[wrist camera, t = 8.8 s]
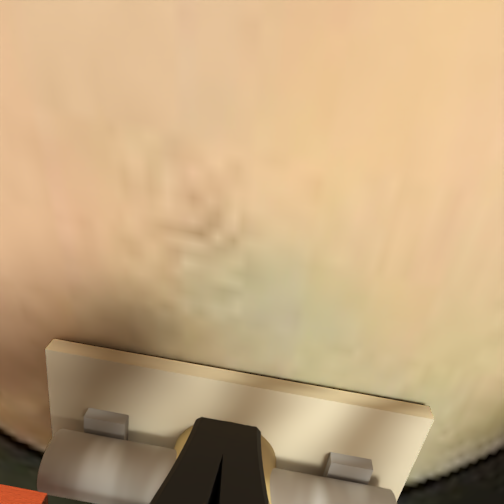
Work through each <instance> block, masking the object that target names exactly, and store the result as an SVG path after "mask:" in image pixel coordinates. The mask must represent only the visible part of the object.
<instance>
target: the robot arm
mask: <svg viewBox="0 0 504 504" xmlns="http://www.w3.org/2000/svg"><path fill="white" fill-rule="evenodd" d="M149 504H269V500H268V495H267V489H266V483H265V476H264V469H263V461H262V451H261V431H260V430H259V429H258V428H257V427H255V426H249V425H244V424H238V423H233V422H227V421H222V420H216V419H211V418H205V417H200V418H198V419H196V420H195V423H194V425H193V428H192V430H191V432H190V435H189V437H188V439H187V441H186V443H185V445H184V447H183V449H182V450H181V452H180V454H179V456H178V458H177V460H176V461H175V463H174V465H173V466H172V468H171V470H170V472H169V473H168V475H167V477H166V478H165V480H164V481H163V483H162V484H161V486H160V488H159V489H158V491H157V492H156V494H155V495H154V497H153V499H152V500H151V502H150V503H149Z"/></svg>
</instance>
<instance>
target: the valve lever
mask: <svg viewBox="0 0 504 504" xmlns="http://www.w3.org/2000/svg"><path fill="white" fill-rule="evenodd" d="M0 504H48V496H47V493H43V492H38V491H33V490H27V489H22V488H17V487H12V486H7V485H1V484H0Z"/></svg>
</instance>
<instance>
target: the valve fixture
mask: <svg viewBox="0 0 504 504" xmlns="http://www.w3.org/2000/svg"><path fill="white" fill-rule="evenodd" d="M45 355H46V367H47V380H48V392H49V404H50V416H51V428H52V439H51V441H50V442H49V444H48V446H47V448H46V450H45V453H44V455H43V458H42V461H41V464H40V467H39V472H38V477H37V489H38V492H43V493H47V495H53V496H58V497H63V498H69V499H74V500H79V501H85V502H90V503H95V504H149V503H150V502H151V500H152V499H153V497H154V495H155V494H156V492H157V491H158V489H159V488H160V486H161V484H162V483H163V481H164V480H165V478H166V477H167V475H168V473H169V472H170V470H171V468H172V466H173V465H174V463H175V461H176V460H177V458H178V456H179V454H180V452H181V450H182V449H183V447H184V445H185V443H186V441H187V439H188V437H189V435H190V432H191V430H192V428H193V425H194V423H195V420H196V419H198V418H200V417H205V418H211V419H216V420H222V421H227V422H233V423H238V424H244V425H249V426H255V427H257V428H258V429H259V430H260V431H261V451H262V461H263V469H264V476H265V483H266V489H267V495H268V500H269V504H397V500H398V498H399V495H400V493H401V491H402V489H403V487H404V485H405V482H406V480H407V478H408V476H409V474H410V471H411V469H412V467H413V465H414V463H415V460H416V458H417V456H418V454H419V452H420V449H421V447H422V445H423V443H424V441H425V439H426V436H427V434H428V432H429V430H430V428H431V425H432V423H433V421H434V418H433V415H432V412H431V409H430V406H425V405H420V404H414V403H409V402H403V401H397V400H392V399H386V398H381V397H375V396H370V395H364V394H359V393H353V392H347V391H342V390H336V389H331V388H325V387H320V386H314V385H309V384H303V383H297V382H292V381H286V380H281V379H275V378H270V377H264V376H259V375H253V374H247V373H242V372H236V371H231V370H225V369H220V368H214V367H209V366H203V365H197V364H192V363H186V362H181V361H175V360H170V359H164V358H159V357H153V356H147V355H142V354H136V353H131V352H125V351H120V350H114V349H109V348H103V347H97V346H92V345H86V344H81V343H75V342H70V341H64V340H59V339H53V340H52V341H51V342H50V344H49V345H48V346H47V347H46V349H45Z"/></svg>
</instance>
